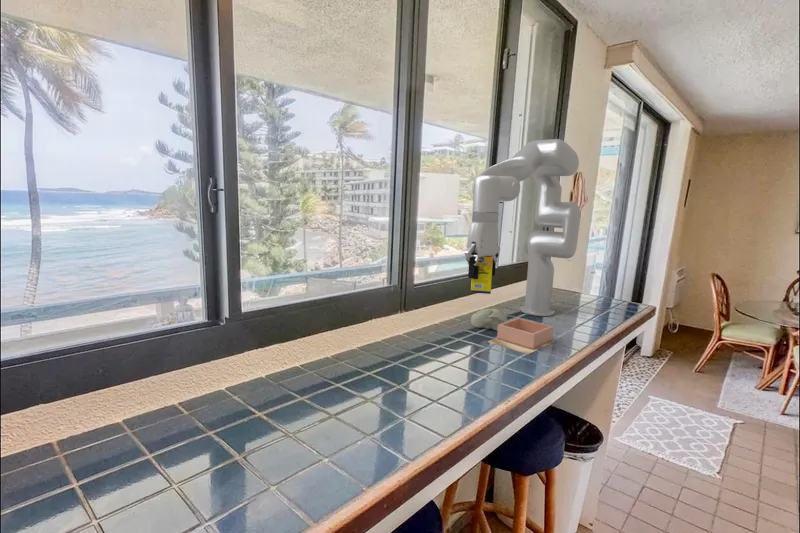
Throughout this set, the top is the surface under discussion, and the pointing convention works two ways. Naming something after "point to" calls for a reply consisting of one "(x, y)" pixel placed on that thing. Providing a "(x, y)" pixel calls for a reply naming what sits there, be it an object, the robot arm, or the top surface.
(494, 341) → the beech board
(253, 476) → the top surface
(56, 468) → the top surface
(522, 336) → the pink open box
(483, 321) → the seashell
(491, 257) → the supplement box
